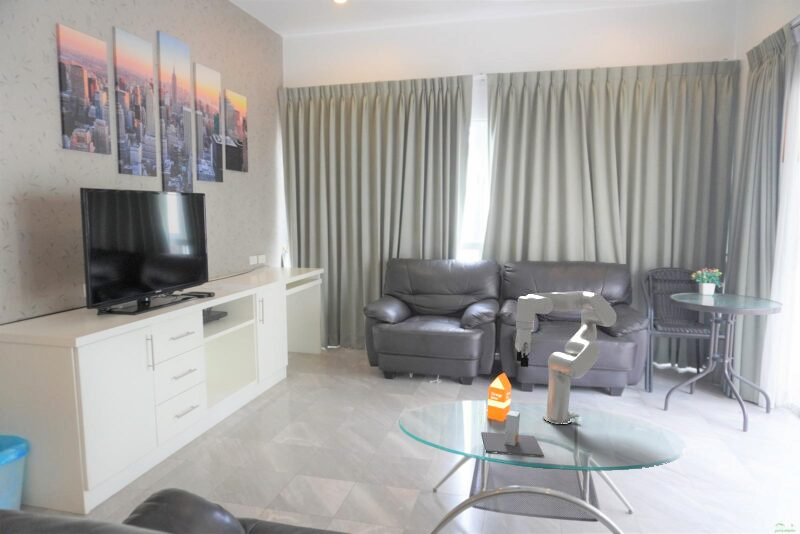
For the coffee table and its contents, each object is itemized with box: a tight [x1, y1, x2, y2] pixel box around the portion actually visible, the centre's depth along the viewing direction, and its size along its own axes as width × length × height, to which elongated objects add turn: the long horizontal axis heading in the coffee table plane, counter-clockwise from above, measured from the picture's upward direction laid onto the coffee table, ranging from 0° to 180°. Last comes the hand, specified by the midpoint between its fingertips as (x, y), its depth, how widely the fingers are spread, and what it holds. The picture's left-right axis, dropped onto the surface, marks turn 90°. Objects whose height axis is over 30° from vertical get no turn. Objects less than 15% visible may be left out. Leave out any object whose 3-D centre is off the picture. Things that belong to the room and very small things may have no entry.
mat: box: [480, 431, 545, 457], centre depth 201 cm, size 22×18×1 cm
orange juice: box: [486, 372, 512, 422], centre depth 231 cm, size 8×9×20 cm
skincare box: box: [504, 410, 521, 446], centre depth 201 cm, size 6×4×12 cm
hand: (522, 363), depth 219 cm, fingers open, 9 cm apart
